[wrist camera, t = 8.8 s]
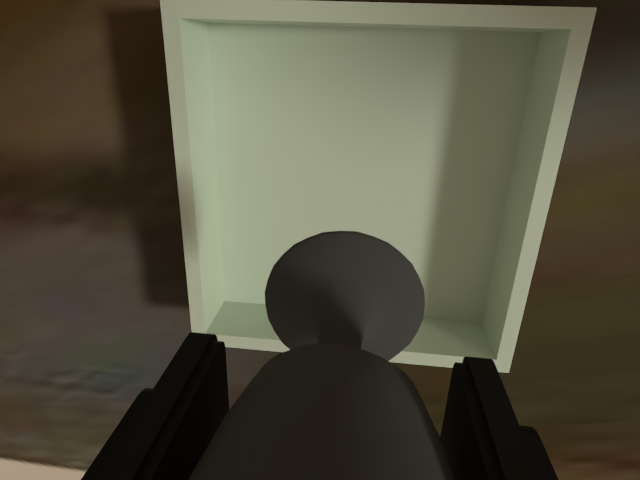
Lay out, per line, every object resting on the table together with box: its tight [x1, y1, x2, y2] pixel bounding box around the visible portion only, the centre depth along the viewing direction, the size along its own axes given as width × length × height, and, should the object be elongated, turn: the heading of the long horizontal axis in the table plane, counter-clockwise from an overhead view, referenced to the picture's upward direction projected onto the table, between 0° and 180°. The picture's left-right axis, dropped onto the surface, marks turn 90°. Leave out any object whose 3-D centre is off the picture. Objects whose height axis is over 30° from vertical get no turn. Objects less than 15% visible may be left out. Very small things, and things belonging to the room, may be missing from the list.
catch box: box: [160, 0, 597, 373], centre depth 24 cm, size 18×18×4 cm
